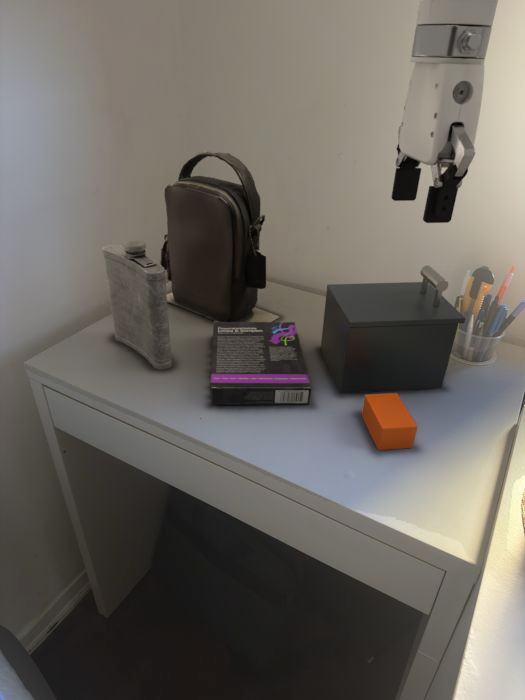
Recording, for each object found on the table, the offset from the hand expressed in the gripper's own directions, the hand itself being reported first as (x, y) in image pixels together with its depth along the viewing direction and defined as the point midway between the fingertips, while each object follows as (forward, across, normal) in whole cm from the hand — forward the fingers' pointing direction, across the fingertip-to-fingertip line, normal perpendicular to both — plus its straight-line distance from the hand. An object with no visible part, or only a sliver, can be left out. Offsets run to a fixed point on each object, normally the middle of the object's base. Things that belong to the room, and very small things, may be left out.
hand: (418, 210), depth 61 cm
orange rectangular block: (+26, -10, +4) cm, 28 cm away
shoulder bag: (+26, +28, +23) cm, 45 cm away
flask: (+26, +14, +36) cm, 47 cm away
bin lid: (+15, +4, -1) cm, 16 cm away
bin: (+26, +4, 0) cm, 26 cm away
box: (+26, +6, +19) cm, 33 cm away
